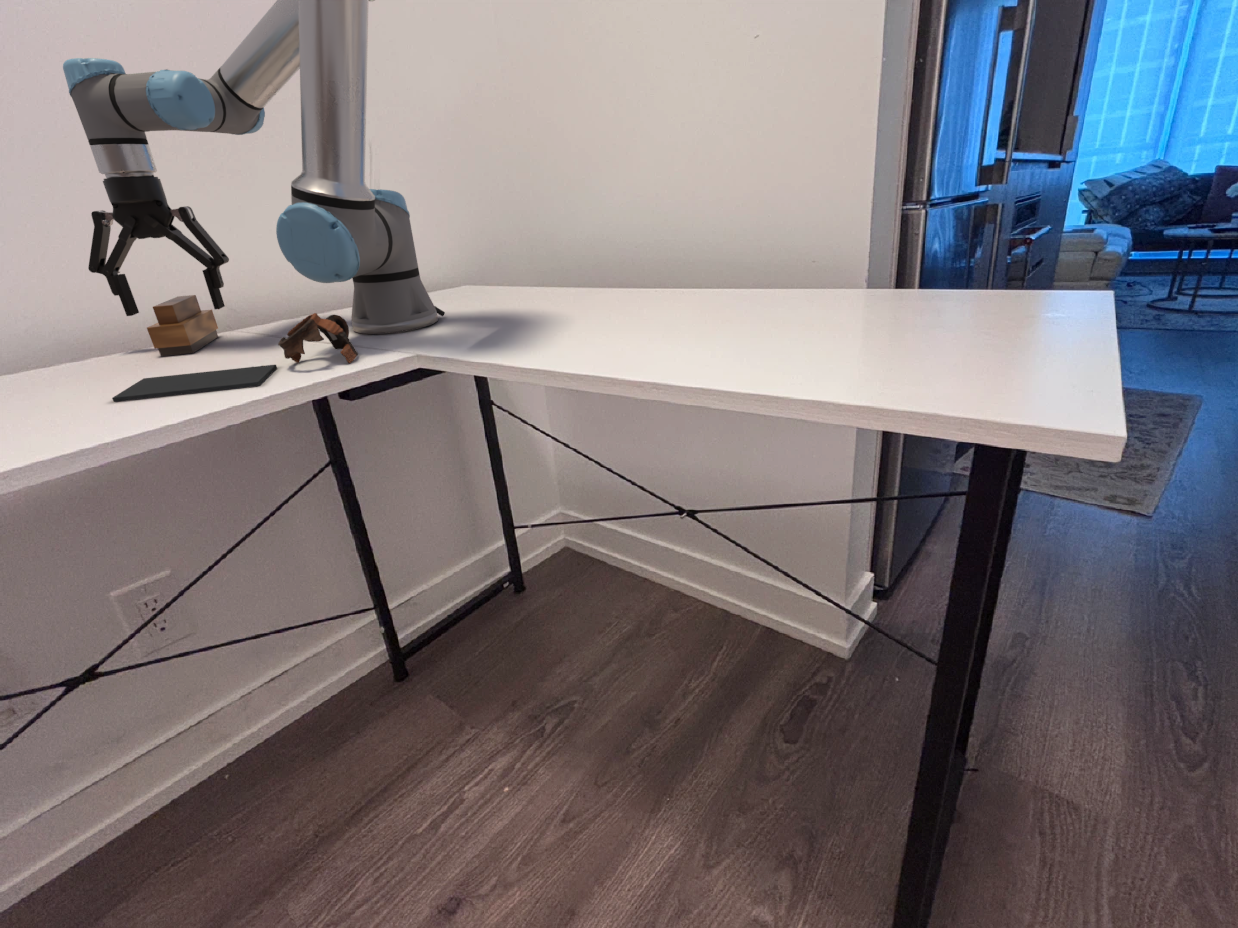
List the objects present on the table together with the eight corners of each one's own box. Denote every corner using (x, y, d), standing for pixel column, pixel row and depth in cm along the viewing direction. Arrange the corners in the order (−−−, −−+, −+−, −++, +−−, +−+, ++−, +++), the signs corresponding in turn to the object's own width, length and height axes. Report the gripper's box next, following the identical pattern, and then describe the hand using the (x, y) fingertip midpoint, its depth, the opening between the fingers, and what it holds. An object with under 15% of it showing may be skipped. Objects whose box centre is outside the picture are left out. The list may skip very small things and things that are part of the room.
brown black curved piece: (348, 371, 91) (304, 327, 87) (305, 398, 94) (261, 356, 90) (377, 331, 100) (338, 290, 96) (337, 357, 104) (297, 317, 99)
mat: (277, 368, 93) (276, 364, 93) (259, 386, 85) (258, 381, 85) (145, 382, 90) (143, 378, 90) (113, 402, 82) (111, 397, 82)
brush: (188, 339, 115) (173, 295, 112) (221, 336, 116) (206, 292, 113) (157, 357, 104) (139, 309, 100) (193, 353, 105) (176, 305, 101)
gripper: (224, 172, 104) (261, 301, 113) (54, 179, 99) (107, 312, 108) (207, 172, 97) (248, 309, 106) (25, 179, 93) (83, 321, 102)
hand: (177, 311), depth 107 cm, fingers open, 13 cm apart
